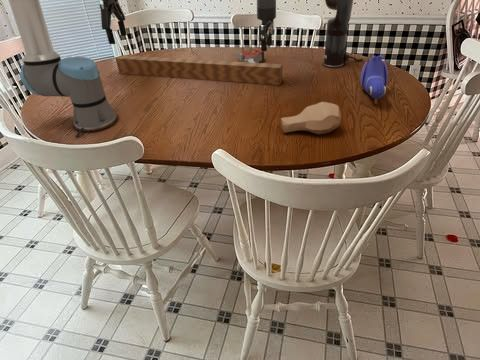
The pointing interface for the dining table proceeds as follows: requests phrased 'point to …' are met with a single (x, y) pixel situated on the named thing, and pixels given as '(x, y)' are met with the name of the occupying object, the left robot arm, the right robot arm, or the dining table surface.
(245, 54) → the tape dispenser
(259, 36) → the right robot arm
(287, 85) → the dining table surface
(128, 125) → the dining table surface
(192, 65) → the bar
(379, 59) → the toy
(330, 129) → the squash
